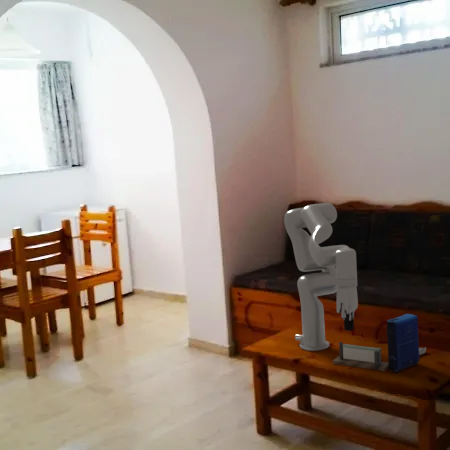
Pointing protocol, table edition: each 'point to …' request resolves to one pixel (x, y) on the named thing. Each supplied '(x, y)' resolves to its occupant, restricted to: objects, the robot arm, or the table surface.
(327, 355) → the table surface
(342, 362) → the gate frame
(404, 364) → the book
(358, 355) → the panel
